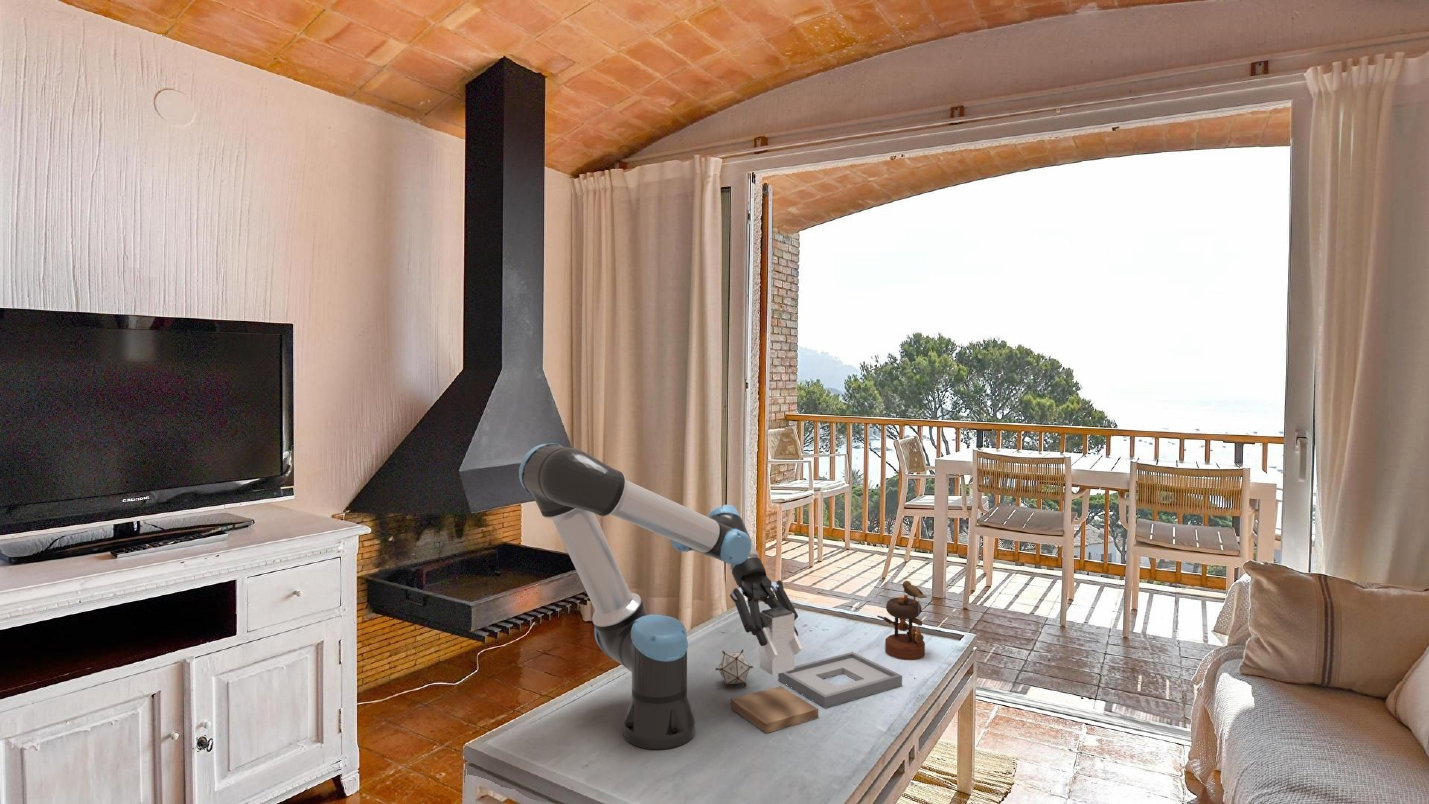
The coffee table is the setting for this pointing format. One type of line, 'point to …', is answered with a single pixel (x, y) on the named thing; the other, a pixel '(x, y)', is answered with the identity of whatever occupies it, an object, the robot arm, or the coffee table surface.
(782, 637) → the block
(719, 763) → the coffee table surface
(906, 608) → the music box
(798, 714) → the board
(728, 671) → the game die
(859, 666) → the grey flat frame
